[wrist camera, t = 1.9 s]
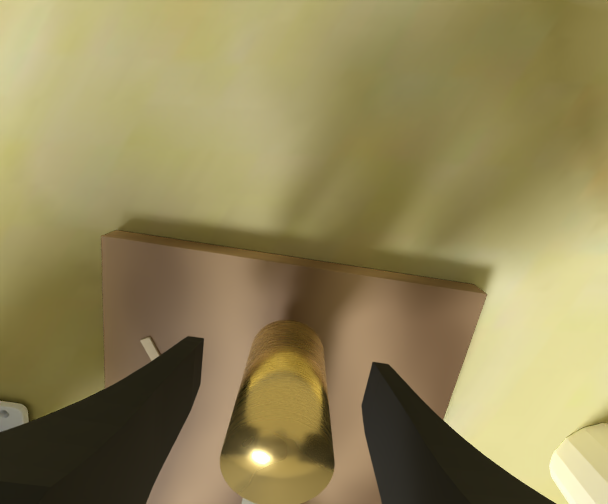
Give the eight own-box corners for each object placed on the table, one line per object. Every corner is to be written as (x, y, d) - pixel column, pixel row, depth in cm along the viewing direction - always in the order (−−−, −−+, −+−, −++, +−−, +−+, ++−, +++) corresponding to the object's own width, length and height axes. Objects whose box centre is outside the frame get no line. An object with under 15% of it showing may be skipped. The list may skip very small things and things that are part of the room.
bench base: (119, 542, 21) (108, 565, 20) (116, 230, 15) (99, 236, 14) (377, 570, 22) (382, 594, 21) (474, 284, 16) (488, 294, 15)
